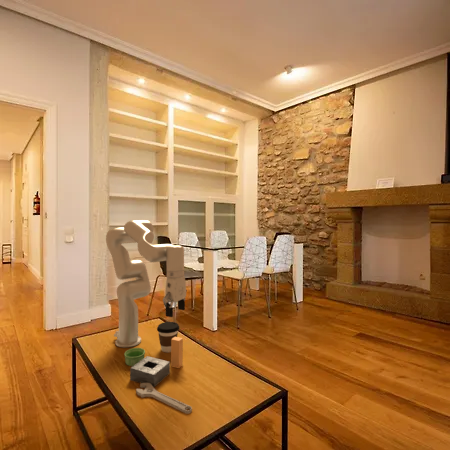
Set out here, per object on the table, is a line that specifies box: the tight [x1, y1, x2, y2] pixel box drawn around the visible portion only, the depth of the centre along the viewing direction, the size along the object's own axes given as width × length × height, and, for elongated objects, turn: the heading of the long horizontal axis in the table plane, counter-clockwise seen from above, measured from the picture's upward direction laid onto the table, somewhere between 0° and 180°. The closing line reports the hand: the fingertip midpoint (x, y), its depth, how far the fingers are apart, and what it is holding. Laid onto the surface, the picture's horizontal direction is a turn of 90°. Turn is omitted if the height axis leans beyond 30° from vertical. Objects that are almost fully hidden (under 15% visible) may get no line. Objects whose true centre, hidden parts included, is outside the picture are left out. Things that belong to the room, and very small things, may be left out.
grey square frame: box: [129, 355, 171, 388], centre depth 117 cm, size 12×11×5 cm
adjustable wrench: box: [135, 383, 193, 415], centre depth 103 cm, size 25×6×2 cm, turn 54°
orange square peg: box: [170, 336, 184, 369], centre depth 126 cm, size 3×4×12 cm
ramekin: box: [123, 347, 146, 367], centre depth 129 cm, size 9×9×4 cm
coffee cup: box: [156, 321, 180, 353], centre depth 141 cm, size 11×11×12 cm
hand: (175, 312), depth 125 cm, fingers open, 9 cm apart
